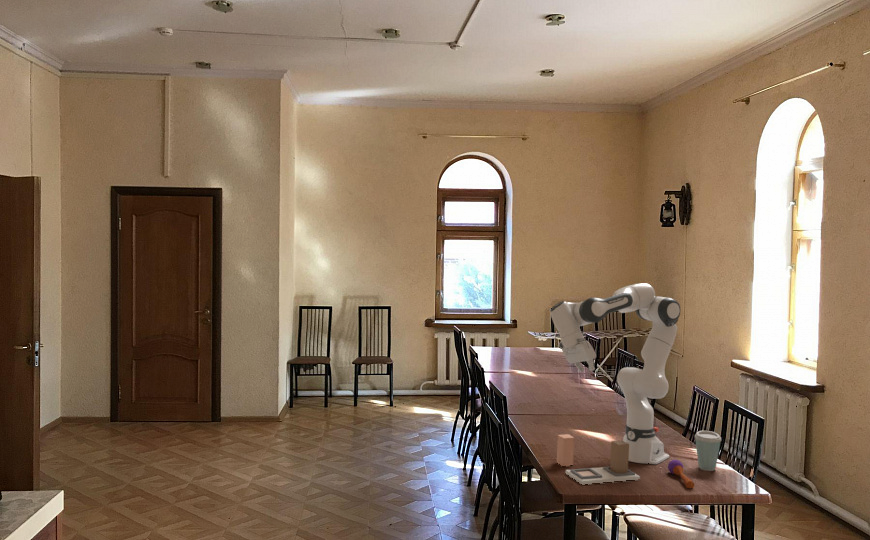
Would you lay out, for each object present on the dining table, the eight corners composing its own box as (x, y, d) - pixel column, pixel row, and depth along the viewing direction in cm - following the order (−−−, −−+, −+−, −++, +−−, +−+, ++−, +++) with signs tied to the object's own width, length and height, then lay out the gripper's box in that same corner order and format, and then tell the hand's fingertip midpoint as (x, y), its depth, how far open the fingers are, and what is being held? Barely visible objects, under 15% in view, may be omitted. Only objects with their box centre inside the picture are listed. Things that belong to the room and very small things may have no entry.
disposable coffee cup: (722, 474, 287) (724, 438, 287) (694, 471, 289) (696, 435, 289) (717, 466, 298) (719, 431, 297) (690, 463, 300) (692, 429, 299)
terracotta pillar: (567, 462, 295) (568, 434, 294) (572, 465, 290) (574, 437, 290) (556, 462, 293) (557, 434, 293) (562, 466, 289) (563, 438, 288)
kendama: (681, 478, 268) (665, 458, 288) (683, 493, 269) (666, 472, 289) (697, 476, 268) (679, 456, 288) (698, 491, 269) (681, 470, 288)
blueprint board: (621, 469, 288) (622, 437, 288) (639, 480, 276) (641, 446, 275) (565, 473, 280) (567, 440, 279) (582, 485, 268) (583, 450, 267)
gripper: (591, 334, 277) (605, 366, 275) (569, 339, 296) (582, 369, 295) (578, 340, 275) (592, 372, 274) (556, 345, 294) (570, 375, 293)
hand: (587, 371), depth 284 cm, fingers open, 8 cm apart
